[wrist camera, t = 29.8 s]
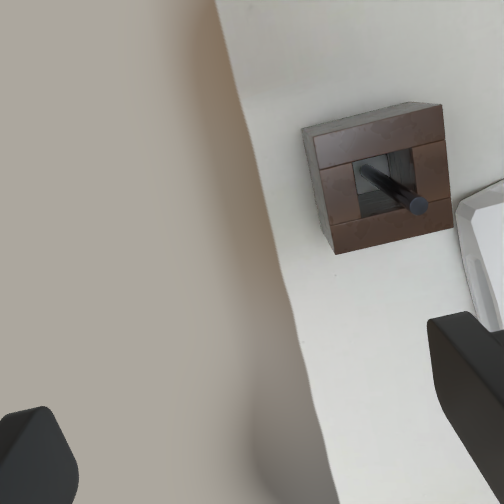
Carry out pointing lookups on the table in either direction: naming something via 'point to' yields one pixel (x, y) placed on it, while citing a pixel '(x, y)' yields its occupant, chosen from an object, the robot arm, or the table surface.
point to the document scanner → (484, 252)
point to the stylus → (395, 190)
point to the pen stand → (400, 166)
